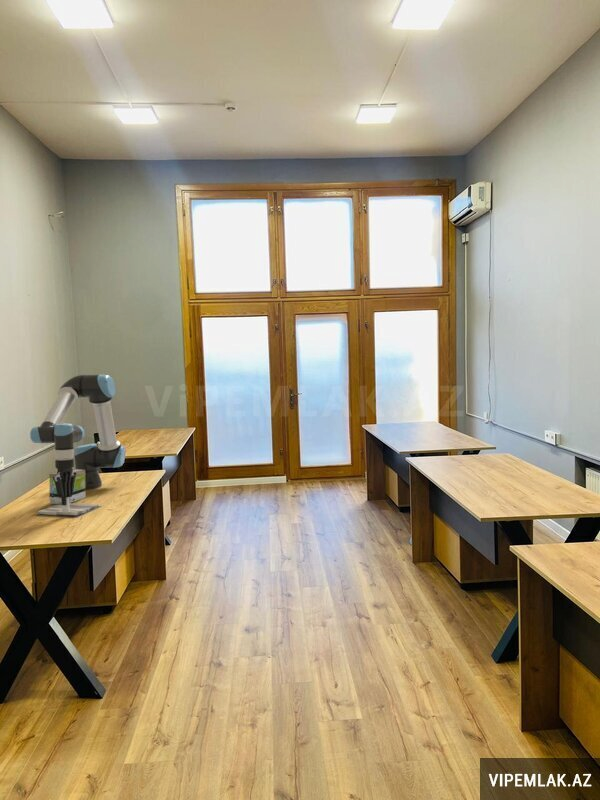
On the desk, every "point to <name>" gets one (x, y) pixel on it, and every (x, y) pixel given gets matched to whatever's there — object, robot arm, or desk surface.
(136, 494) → the desk surface
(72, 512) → the plank
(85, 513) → the grey framed panel
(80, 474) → the tea box
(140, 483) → the desk surface
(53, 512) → the plank
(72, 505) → the laid board
